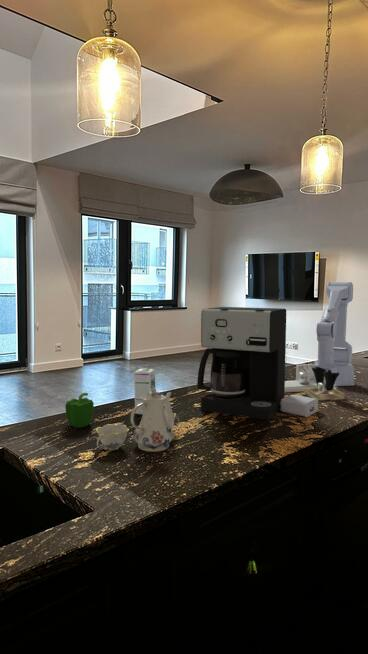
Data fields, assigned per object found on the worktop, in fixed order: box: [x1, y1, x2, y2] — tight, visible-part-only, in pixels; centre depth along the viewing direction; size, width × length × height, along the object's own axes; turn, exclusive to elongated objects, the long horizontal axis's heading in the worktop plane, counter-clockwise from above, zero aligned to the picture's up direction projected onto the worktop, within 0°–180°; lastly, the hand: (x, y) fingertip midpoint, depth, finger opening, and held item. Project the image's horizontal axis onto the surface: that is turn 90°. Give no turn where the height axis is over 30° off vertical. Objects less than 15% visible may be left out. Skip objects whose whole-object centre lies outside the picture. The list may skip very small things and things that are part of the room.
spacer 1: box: [298, 372, 310, 385], centre depth 186 cm, size 4×4×4 cm
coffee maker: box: [196, 306, 287, 421], centre depth 157 cm, size 28×20×35 cm
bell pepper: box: [64, 392, 95, 429], centre depth 137 cm, size 8×8×10 cm
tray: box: [304, 388, 346, 401], centre depth 174 cm, size 11×11×2 cm
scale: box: [285, 363, 336, 393], centre depth 188 cm, size 22×13×8 cm, turn 100°
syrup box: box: [133, 367, 156, 415], centre depth 152 cm, size 6×6×14 cm
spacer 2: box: [318, 381, 330, 395], centre depth 173 cm, size 4×4×4 cm
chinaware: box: [95, 386, 180, 453], centre depth 123 cm, size 28×17×17 cm, turn 141°
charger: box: [279, 394, 319, 418], centre depth 154 cm, size 5×9×15 cm
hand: (324, 387), depth 174 cm, fingers open, 7 cm apart
